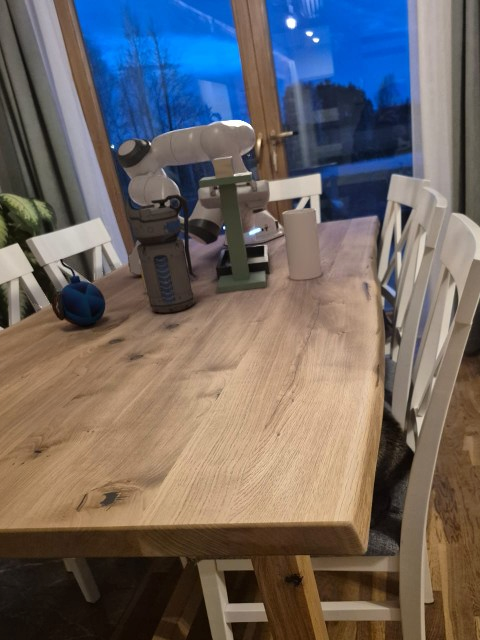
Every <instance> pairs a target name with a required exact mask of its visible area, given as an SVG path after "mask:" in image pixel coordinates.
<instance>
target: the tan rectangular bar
mask: <svg viewBox="0 0 480 640" xmlns="http://www.w3.org/2000/svg"><path fill="white" fill-rule="evenodd" d="M213 164H214V167H213V169H214V176H216V179H217V178H225V177H233V176H234V174H235V172H234V166H233V159H232V156H231V157H223V158H216V159H214V160H213ZM213 164H212V165H213Z"/></svg>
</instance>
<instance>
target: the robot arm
mask: <svg viewBox="0 0 480 640" xmlns="http://www.w3.org/2000/svg"><path fill="white" fill-rule="evenodd" d="M256 139H257V137H256V132H255V129H254V128H253V127H252V126H251V125H250V124H249V123H247V122H246V121H242V120H239V119H233V120H221V121H220V120H219V121H214V122H211V123H209V124H204V125H203V124H202V125H197V126H192V127H187V128H181V129H175V130H172V131H167V132H165V133H162V134H160V135H157V136H156V137H154V138H153V139H152V141H151V142H150V141H149V140H147V139H145V138H142V139H141V138H140V139H139V138H130V139H126V140H125V141H123V142H122V143H121V144H120V145H119V146H118V148H117V150H116V159H117V161H118V163H119V165H120V167H121V168H123V170H124V171H125V173H126V174H127V176H128V177H129V178H130V181H129V184H128V187H127V192H128V195H129V197H131V201H132V202H133V203H135V204H137V205H139V206H140V207H141V206H147V205H154V206H155V207H159V206H160V204H159V203H156V204H154V203H152V202H151V201H152V200H160V199H165V198H166V197H167V196H170V195H180V196H182V195H181V191H180V189H179V186H178V185H177V184H176V182H175V181H174V180H173V179H171V178H169V175H168V174H167V173H166V172H165V170H164V168H165V167H167V166H173V167H175V166H185V165H191V164H198V163H203V162H204V163H205V162H211V164H212V166H213V168H214V164H213V160H214V159H216V158H223V157H231V156H232V159H233V166H234V172H235V174H237V173H245V172H249V170H248V169H247V168H246V166H245V162H244V160H243V158H242V156H244V155H246V154H247V153H249V152H250V151H252V149H253V148H254V146H255V145H256ZM236 187H237V194H238V200H239V207H240V214H241V220H242V227H243V234H244V240H245V246H246V245H253V244H254V245H255V244H263V243H265V242H269V241H271V240H273V239H277V238H278V237H281V236H285V233H284V231H282V230H279V229H280V227H279V220H278V219H274V218H273V217H272V216H271V215H269V214H267V213H266V212H265V211H266V210H267V209H268V203H269V202H270V199H271V198H270V197H271V191H270V182H269V181H268V180H266V179H263V180H262V179H261V180H254V179H252V181H250V182H242V183H236ZM197 196H198V197H197V198H198V199H197V202H196V205H195V207H194V209H193V211H192V213H191V214H190V215H189V217H188V219H189V238H191V239H192V240H194V241H196V242H197V243H199V244H202V245H205V246H207V245H211V244H213V243H215V242H217V241H218V238H219V235H220V232H221V229H222V227H223V230H224V243H223V244H224V246H228V243H227V237H226V231H225V226H223V225H224V219H223V212H222V206H221V200H220V194H219V188H218V186H210V187H202V188H200V187H199V189H198V190H197ZM165 206H170V200H168V201H167V202H165ZM178 218H179V219H180V223H181V230H180V233H182V234H184V217H182V216H180V213H179V214H178Z"/></svg>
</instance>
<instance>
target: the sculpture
mask: <svg viewBox="0 0 480 640" xmlns="http://www.w3.org/2000/svg"><path fill="white" fill-rule="evenodd" d="M139 244H141V243H140V242H139V241H138V240H137V239H136V242H135V246H134V248H133V249H132V251H131V252H130V253H129V255H128V256H127V261H128V263H127V265H128V267H129V272H130V273H131V274H132V275H133V274H134V275H136V276H141V272H140V267H139V260H140V258H139V255H138V251H137V247H138V245H139Z"/></svg>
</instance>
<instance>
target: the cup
mask: <svg viewBox="0 0 480 640" xmlns="http://www.w3.org/2000/svg"><path fill="white" fill-rule="evenodd" d="M316 211H317V210H316V208H312V207H306V208H305V207H304V208H296V209H295V208H294V209H289V210H285V211H283V212H281V215H282V223H283V224H282V225H283V233H284V240H285V248H286V256H287V264H288V265H287V266H288V272H289V279H290V280H294V281H295V280H296V281H303V280H310V279H315V278H318V277H321V276H322V274H323V273H322V261H321V253H320V243H319V232H318V231H319V230H318V221H317V212H316Z"/></svg>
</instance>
